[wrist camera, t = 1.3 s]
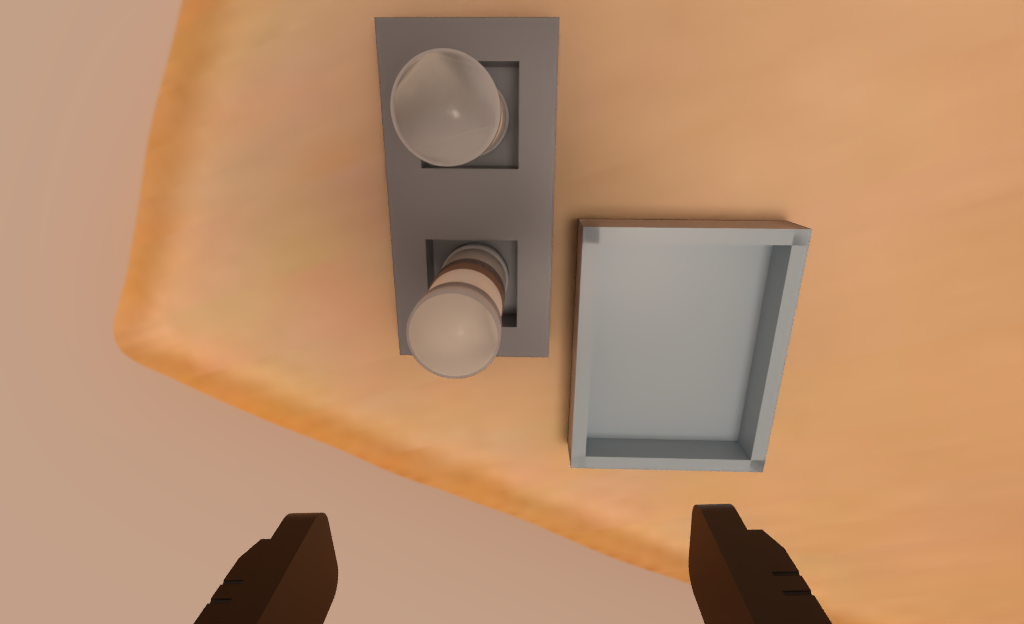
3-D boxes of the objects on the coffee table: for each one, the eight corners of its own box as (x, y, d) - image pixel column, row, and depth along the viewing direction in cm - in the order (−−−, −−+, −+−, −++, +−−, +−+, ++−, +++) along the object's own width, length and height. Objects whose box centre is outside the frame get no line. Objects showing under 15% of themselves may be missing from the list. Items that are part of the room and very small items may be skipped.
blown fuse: (442, 241, 27) (402, 290, 19) (509, 242, 27) (500, 291, 19) (444, 304, 28) (408, 377, 20) (508, 305, 28) (500, 379, 20)
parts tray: (578, 218, 27) (583, 226, 25) (786, 220, 27) (811, 229, 24) (567, 443, 32) (570, 467, 29) (744, 446, 31) (762, 472, 29)
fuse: (435, 78, 24) (386, 48, 16) (509, 78, 24) (499, 48, 16) (438, 155, 26) (394, 166, 17) (509, 156, 26) (500, 166, 17)
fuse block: (389, 29, 24) (374, 17, 22) (556, 28, 24) (559, 17, 22) (410, 337, 30) (399, 354, 27) (546, 339, 29) (548, 357, 27)
